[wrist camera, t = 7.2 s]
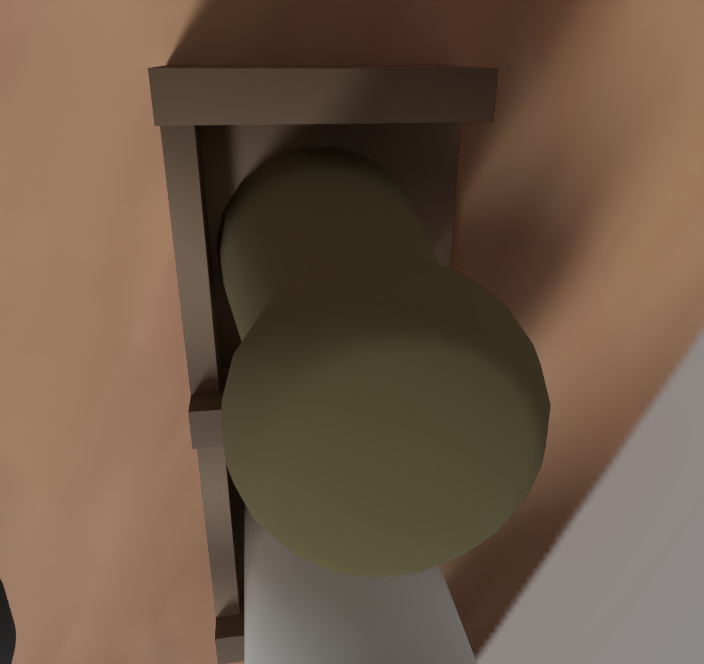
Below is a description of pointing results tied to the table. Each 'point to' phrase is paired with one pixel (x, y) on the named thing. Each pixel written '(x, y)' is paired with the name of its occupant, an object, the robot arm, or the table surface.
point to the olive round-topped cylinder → (368, 374)
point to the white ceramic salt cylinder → (343, 612)
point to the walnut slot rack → (242, 160)
